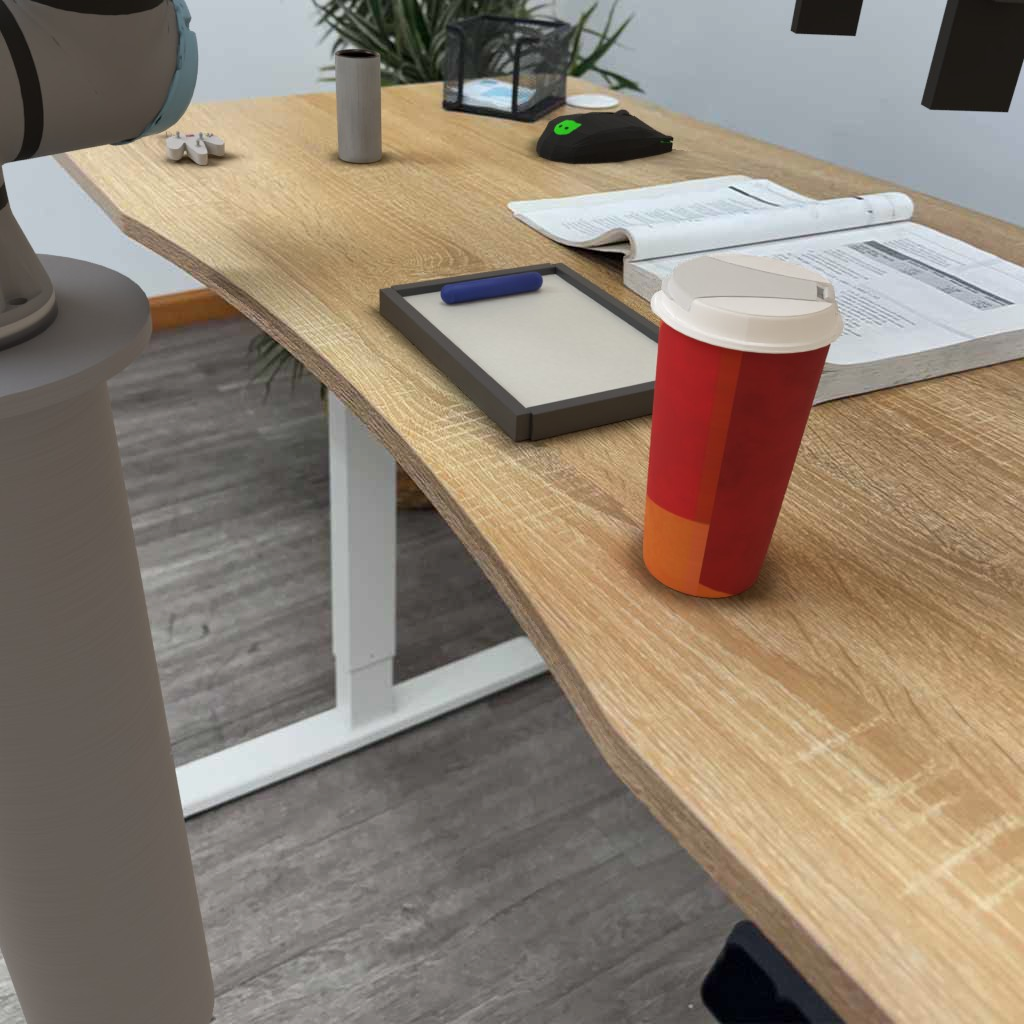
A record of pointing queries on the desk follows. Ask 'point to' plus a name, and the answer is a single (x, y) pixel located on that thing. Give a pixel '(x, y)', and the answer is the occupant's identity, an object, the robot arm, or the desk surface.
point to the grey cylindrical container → (358, 105)
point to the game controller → (194, 146)
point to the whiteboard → (532, 346)
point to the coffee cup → (729, 413)
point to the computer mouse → (600, 138)
